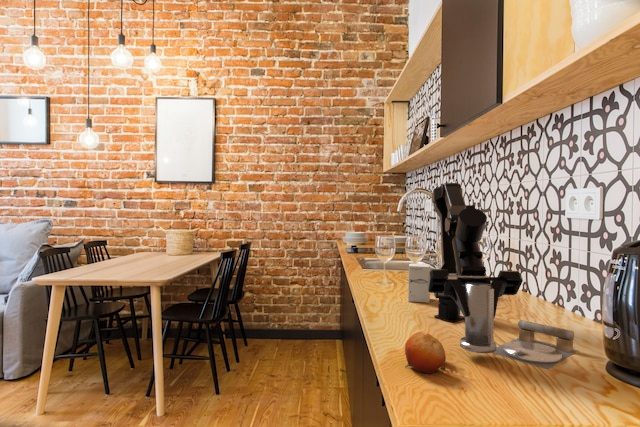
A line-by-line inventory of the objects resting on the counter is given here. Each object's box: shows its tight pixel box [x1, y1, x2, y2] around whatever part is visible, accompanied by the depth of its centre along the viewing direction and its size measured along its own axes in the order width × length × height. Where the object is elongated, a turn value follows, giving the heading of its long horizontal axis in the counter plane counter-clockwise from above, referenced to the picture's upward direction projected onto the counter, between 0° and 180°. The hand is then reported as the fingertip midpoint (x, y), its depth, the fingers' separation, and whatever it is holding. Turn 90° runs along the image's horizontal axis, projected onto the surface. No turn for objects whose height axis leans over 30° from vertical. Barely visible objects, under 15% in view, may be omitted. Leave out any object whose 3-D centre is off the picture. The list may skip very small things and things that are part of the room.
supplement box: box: [407, 263, 431, 304], centre depth 137 cm, size 7×7×13 cm
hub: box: [459, 282, 498, 354], centre depth 80 cm, size 7×7×13 cm
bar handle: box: [517, 319, 575, 353], centre depth 88 cm, size 11×2×4 cm, turn 38°
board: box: [492, 337, 579, 370], centre depth 84 cm, size 16×12×1 cm
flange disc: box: [502, 340, 563, 364], centre depth 82 cm, size 11×11×1 cm
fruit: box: [404, 331, 447, 375], centre depth 78 cm, size 8×8×8 cm
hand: (479, 316), depth 79 cm, fingers closed on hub, 5 cm apart
